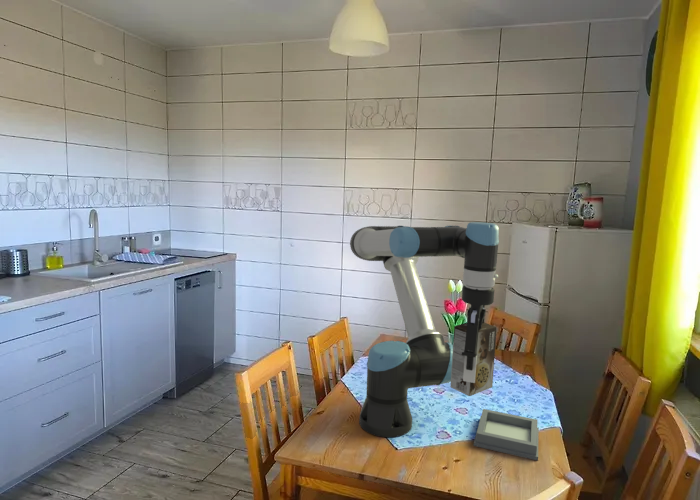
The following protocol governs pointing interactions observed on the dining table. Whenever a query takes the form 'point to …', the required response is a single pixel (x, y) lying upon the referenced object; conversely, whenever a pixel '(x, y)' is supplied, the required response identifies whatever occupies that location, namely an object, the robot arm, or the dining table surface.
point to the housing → (508, 434)
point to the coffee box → (482, 364)
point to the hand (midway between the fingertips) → (472, 372)
